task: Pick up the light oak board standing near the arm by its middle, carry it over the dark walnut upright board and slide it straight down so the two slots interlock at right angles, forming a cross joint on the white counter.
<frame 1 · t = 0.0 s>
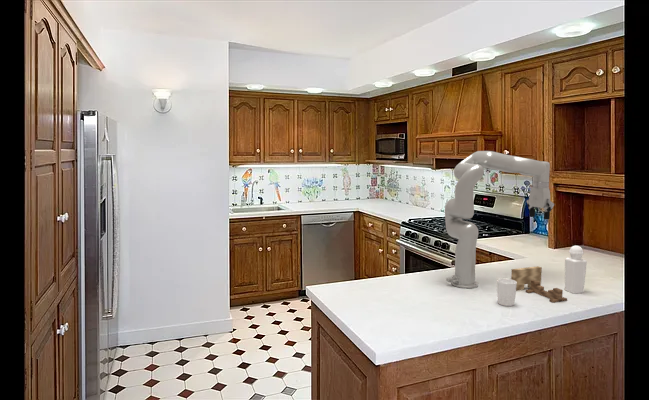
hand: (539, 218, 229), 31 cm above the counter, tool pointing down, fingers open, 9 cm apart
white cup: (505, 304, 191), on the counter
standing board: (545, 296, 200), on the counter
slotted board: (525, 288, 211), on the counter
soap dispenser: (573, 291, 207), on the counter
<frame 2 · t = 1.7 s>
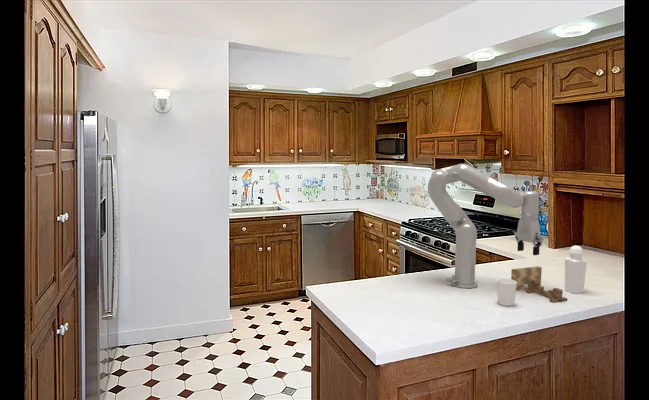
hand: (528, 252, 209), 18 cm above the counter, tool pointing down, fingers open, 9 cm apart
nothing on the counter moved.
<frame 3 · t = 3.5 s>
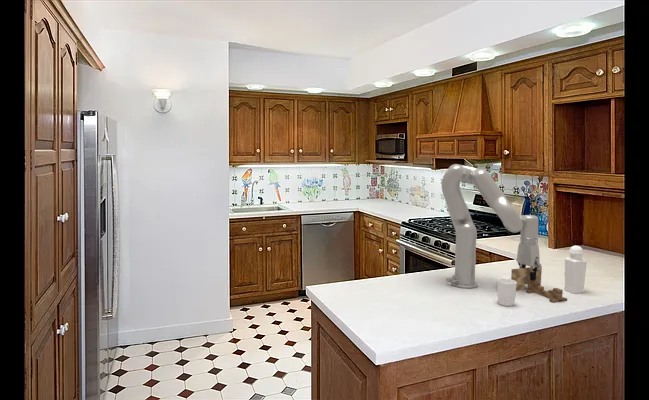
hand: (528, 277, 210), 5 cm above the counter, tool pointing down, fingers open, 5 cm apart
nothing on the counter moved.
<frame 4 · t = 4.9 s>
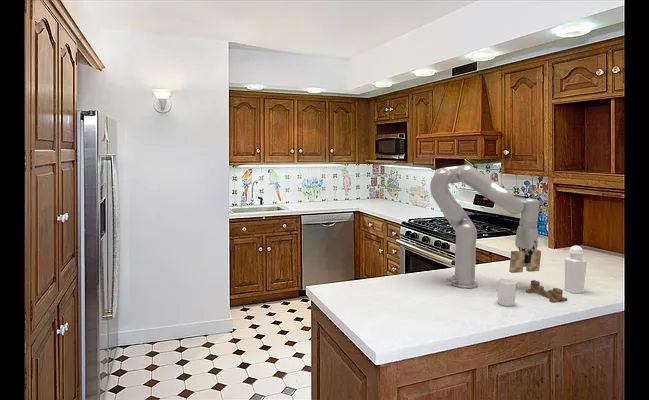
hand: (525, 262, 210), 13 cm above the counter, tool pointing down, fingers closed on slotted board
slotted board: (524, 271, 211), point 8 cm above the counter, touching gripper
everything else where it was.
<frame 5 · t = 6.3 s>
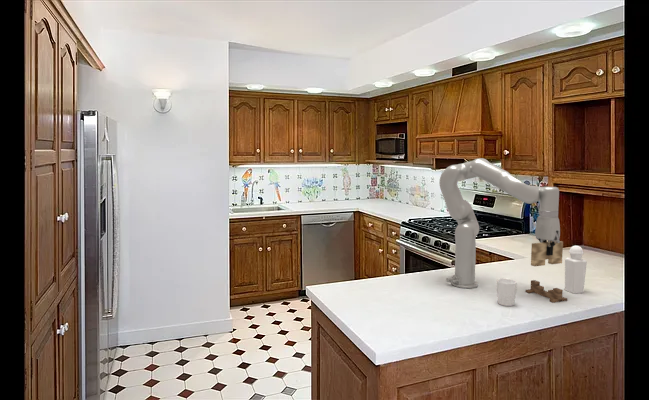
hand: (546, 254, 199), 19 cm above the counter, tool pointing down, fingers closed on slotted board
slotted board: (546, 264, 199), point 15 cm above the counter, touching gripper
everything else where it was.
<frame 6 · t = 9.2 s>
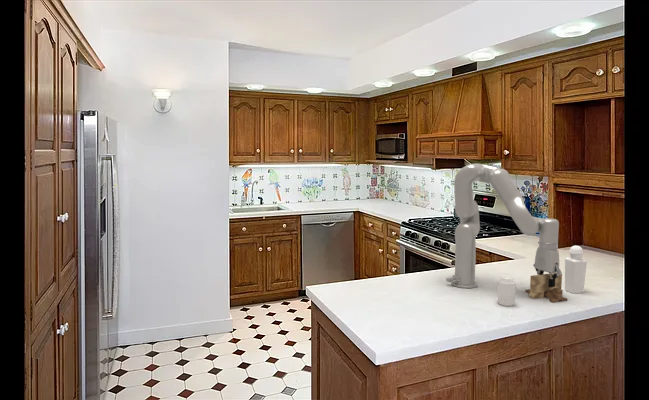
hand: (546, 284, 199), 5 cm above the counter, tool pointing down, fingers open, 5 cm apart
slotted board: (545, 296, 200), on the counter
everything else where it was.
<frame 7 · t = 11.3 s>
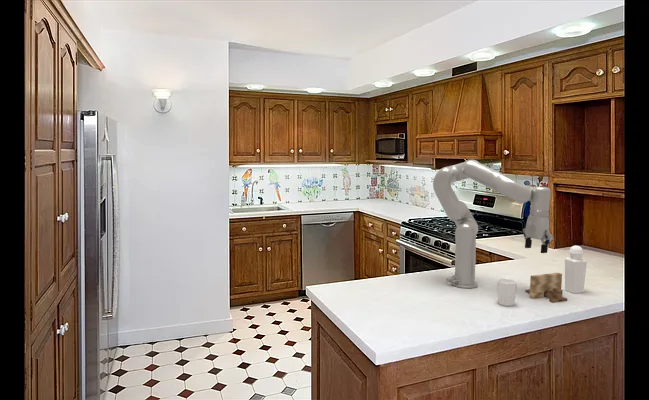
hand: (535, 250, 202), 20 cm above the counter, tool pointing down, fingers open, 9 cm apart
nothing on the counter moved.
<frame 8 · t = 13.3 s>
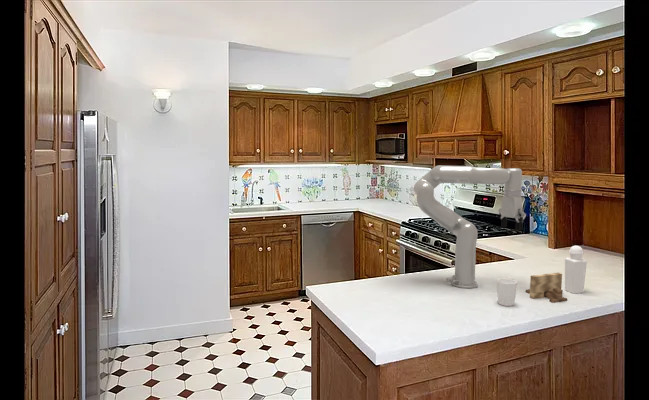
hand: (511, 228, 214), 28 cm above the counter, tool pointing down, fingers open, 9 cm apart
nothing on the counter moved.
at the end: slotted board 0.1 cm off-centre on the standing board, point 0.0 cm above the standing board's base; slotted board tilted 0°; the gripper is holding nothing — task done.
